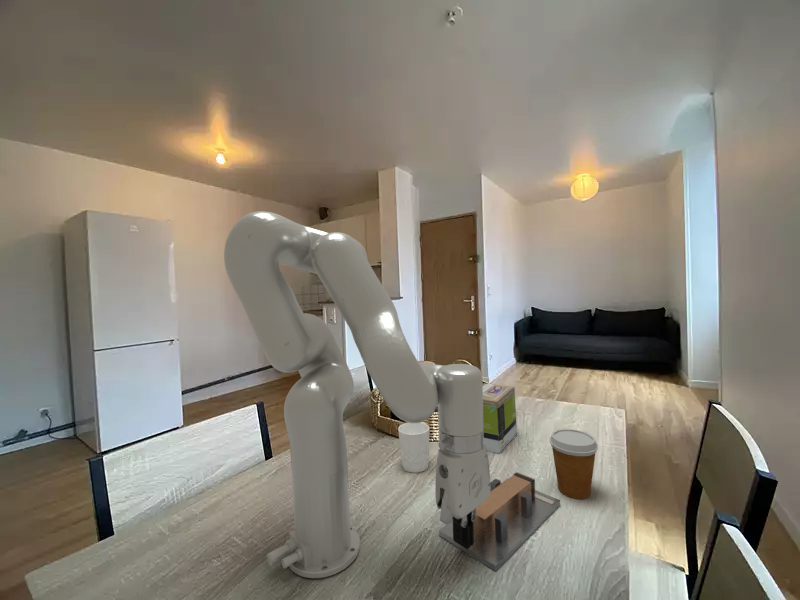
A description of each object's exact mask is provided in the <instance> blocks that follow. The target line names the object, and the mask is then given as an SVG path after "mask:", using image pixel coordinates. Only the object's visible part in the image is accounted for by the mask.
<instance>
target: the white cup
mask: <svg viewBox="0 0 800 600" xmlns="http://www.w3.org/2000/svg"><path fill="white" fill-rule="evenodd" d="M397 430H398V438H399V439H398V440H399V441H398V442H399V450H400V457H401V458H400V459H401V467H402V469H403V470H405V472H408V473H413V474H415V473H417V474H418V473H421V472H425V471H426V470H428V468H429V465H430V463H429V457H430V426H429V425H428V424H427V423H424V422H420V423H408V422H404V423H402V424H400V425H399V426H398V428H397Z"/></svg>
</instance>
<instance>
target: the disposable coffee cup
mask: <svg viewBox="0 0 800 600" xmlns="http://www.w3.org/2000/svg"><path fill="white" fill-rule="evenodd" d="M550 435H551V436H550V437H549V443H550V445H551V448H552V449H551V450H552V454H553V463H554V468H555V474H556V481H557V489H558V491H559V492H560V493H561V494H562V495H563V496H565V497H568V498H571V499H576V500H584V499H587V498H589V497H591V491H592V482H593V477H594V476H593V474H594V467H595V460H596V453H597V451H598V449H599V445H598V442H597V441H596V438H595V437H594V436H593V435H592V434H590V433H587V432H584V431H582V430H577V429H571V428H566V429H565V428H563V429H556V430H554V431H552V432H551V434H550Z"/></svg>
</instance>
